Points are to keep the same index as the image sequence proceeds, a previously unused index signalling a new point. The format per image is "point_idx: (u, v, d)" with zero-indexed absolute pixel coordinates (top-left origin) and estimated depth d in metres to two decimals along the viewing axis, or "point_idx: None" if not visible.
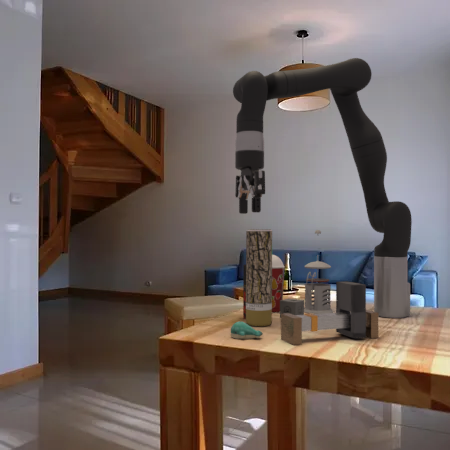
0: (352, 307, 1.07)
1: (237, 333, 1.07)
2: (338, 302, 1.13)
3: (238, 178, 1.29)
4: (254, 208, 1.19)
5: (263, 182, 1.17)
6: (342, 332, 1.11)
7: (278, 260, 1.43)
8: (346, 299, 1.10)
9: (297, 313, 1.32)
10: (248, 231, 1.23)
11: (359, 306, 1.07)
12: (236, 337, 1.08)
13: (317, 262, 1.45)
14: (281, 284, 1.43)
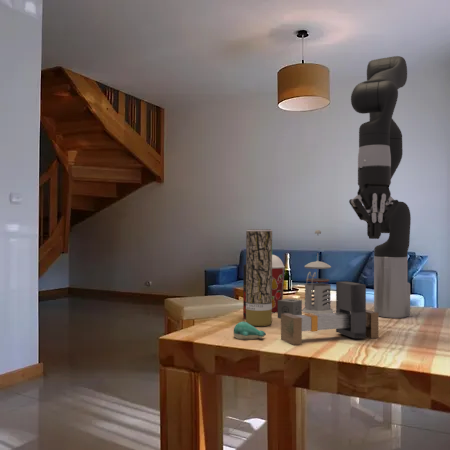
0: (352, 307, 1.07)
1: (240, 334, 1.07)
2: (338, 302, 1.13)
3: None
4: None
5: None
6: (342, 332, 1.11)
7: (278, 260, 1.43)
8: (346, 299, 1.10)
9: (295, 313, 1.32)
10: (248, 231, 1.23)
11: (359, 306, 1.07)
12: (239, 337, 1.07)
13: (317, 262, 1.45)
14: (281, 284, 1.43)
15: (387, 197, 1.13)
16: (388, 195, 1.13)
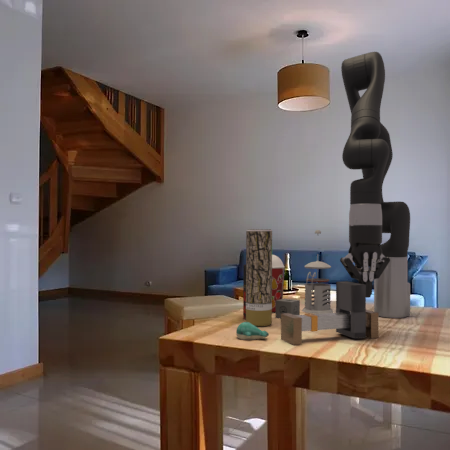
0: (352, 307, 1.07)
1: (243, 334, 1.07)
2: (338, 302, 1.13)
3: None
4: (370, 293, 1.11)
5: None
6: (342, 332, 1.11)
7: (278, 260, 1.43)
8: (346, 299, 1.10)
9: (293, 313, 1.32)
10: (248, 231, 1.23)
11: (358, 306, 1.07)
12: (242, 338, 1.07)
13: (317, 262, 1.45)
14: (281, 284, 1.43)
15: (378, 255, 1.12)
16: (379, 253, 1.12)
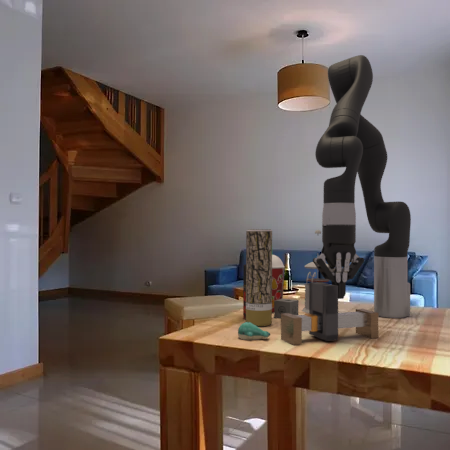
0: (324, 309, 1.05)
1: (245, 334, 1.07)
2: (311, 303, 1.10)
3: None
4: (344, 294, 1.09)
5: None
6: (315, 334, 1.09)
7: (278, 260, 1.43)
8: (318, 300, 1.07)
9: (291, 313, 1.32)
10: (248, 231, 1.23)
11: (331, 308, 1.05)
12: (244, 338, 1.07)
13: None
14: (281, 284, 1.43)
15: (352, 255, 1.09)
16: (353, 253, 1.10)
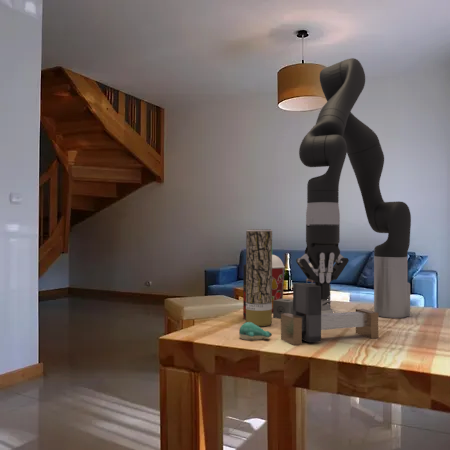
0: (307, 310, 1.04)
1: (246, 334, 1.07)
2: (295, 304, 1.09)
3: None
4: (327, 295, 1.08)
5: None
6: None
7: (278, 260, 1.43)
8: (301, 301, 1.06)
9: (290, 313, 1.32)
10: (248, 231, 1.23)
11: (313, 309, 1.03)
12: (245, 338, 1.07)
13: None
14: (281, 284, 1.43)
15: (336, 255, 1.08)
16: (337, 253, 1.08)
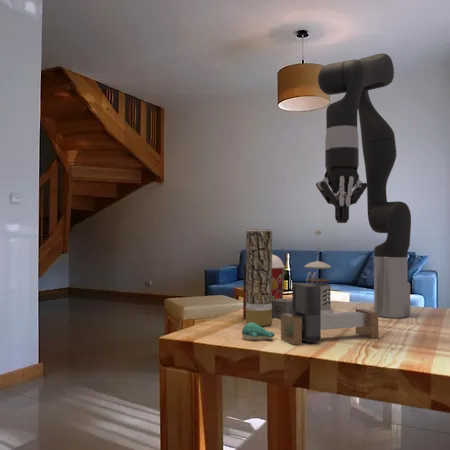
0: (306, 310, 1.03)
1: (249, 335, 1.06)
2: (294, 304, 1.09)
3: None
4: (347, 218, 1.10)
5: None
6: None
7: (278, 260, 1.43)
8: (301, 301, 1.06)
9: None
10: (248, 231, 1.23)
11: (313, 309, 1.03)
12: (248, 338, 1.06)
13: (317, 262, 1.45)
14: (281, 284, 1.43)
15: (355, 180, 1.10)
16: (356, 178, 1.10)
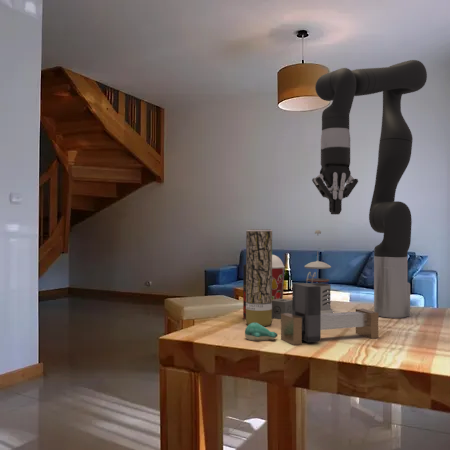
0: (306, 310, 1.03)
1: (252, 335, 1.06)
2: (294, 304, 1.09)
3: None
4: (340, 210, 1.23)
5: None
6: None
7: (278, 260, 1.43)
8: (301, 301, 1.06)
9: None
10: (248, 231, 1.23)
11: (313, 309, 1.03)
12: (251, 338, 1.06)
13: (317, 262, 1.45)
14: (281, 284, 1.43)
15: (347, 176, 1.23)
16: (348, 174, 1.23)
